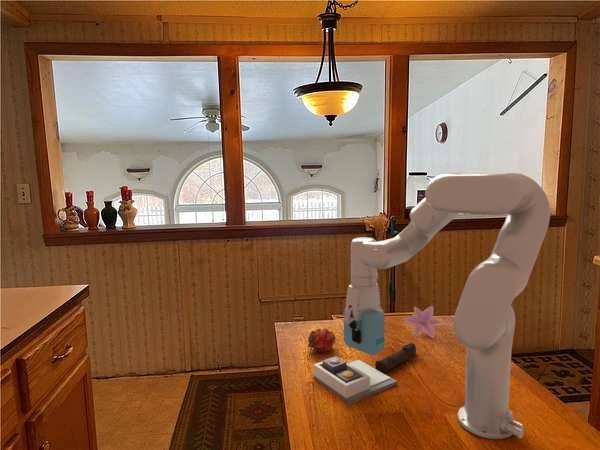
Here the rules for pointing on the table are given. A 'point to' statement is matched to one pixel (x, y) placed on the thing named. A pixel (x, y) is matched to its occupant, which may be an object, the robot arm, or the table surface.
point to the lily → (423, 321)
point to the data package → (368, 333)
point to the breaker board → (356, 389)
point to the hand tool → (396, 358)
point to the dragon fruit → (321, 340)
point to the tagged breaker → (347, 375)
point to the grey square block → (334, 365)
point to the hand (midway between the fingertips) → (363, 339)
